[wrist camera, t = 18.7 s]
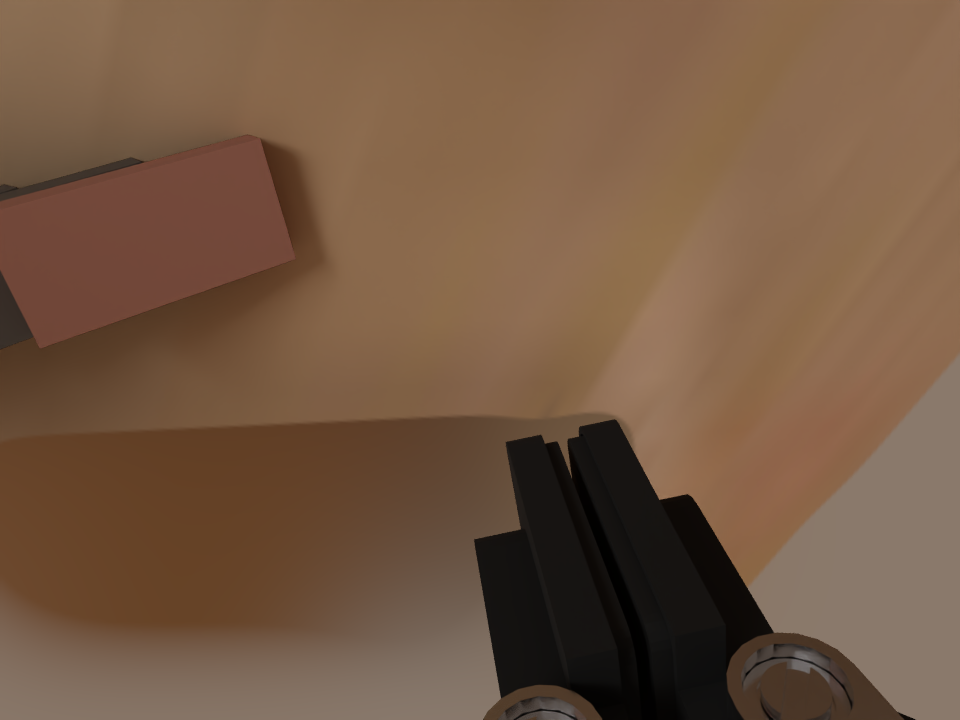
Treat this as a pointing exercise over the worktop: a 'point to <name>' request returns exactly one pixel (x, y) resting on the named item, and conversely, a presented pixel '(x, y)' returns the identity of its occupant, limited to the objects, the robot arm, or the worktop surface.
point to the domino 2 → (140, 237)
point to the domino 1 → (3, 316)
